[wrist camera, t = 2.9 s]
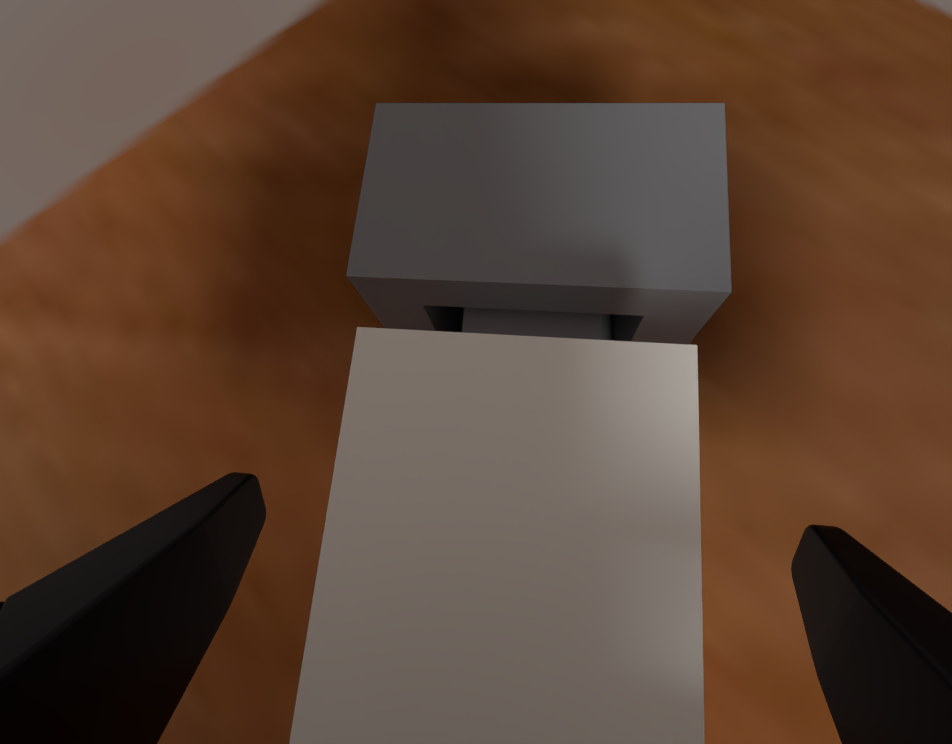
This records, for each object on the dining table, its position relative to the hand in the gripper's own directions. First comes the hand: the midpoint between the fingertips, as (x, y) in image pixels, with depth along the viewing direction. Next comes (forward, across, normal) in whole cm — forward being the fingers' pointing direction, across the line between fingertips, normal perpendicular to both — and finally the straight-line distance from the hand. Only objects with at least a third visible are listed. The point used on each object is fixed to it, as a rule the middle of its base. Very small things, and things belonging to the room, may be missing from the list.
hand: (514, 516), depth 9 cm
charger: (+6, 0, +4) cm, 7 cm away
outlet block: (+10, 0, +1) cm, 10 cm away
